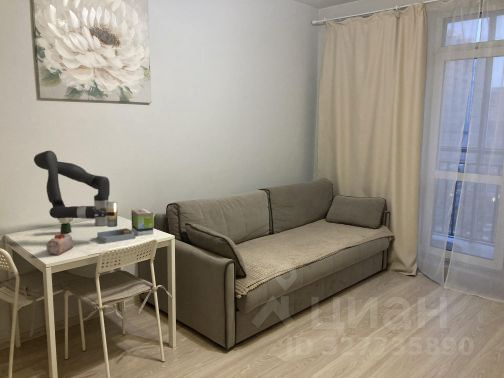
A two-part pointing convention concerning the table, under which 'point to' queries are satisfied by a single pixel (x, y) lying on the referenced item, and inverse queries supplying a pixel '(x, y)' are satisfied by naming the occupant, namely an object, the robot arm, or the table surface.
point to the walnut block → (125, 231)
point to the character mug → (65, 224)
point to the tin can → (111, 219)
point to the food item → (59, 244)
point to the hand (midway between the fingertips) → (115, 212)
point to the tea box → (142, 222)
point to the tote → (114, 236)
